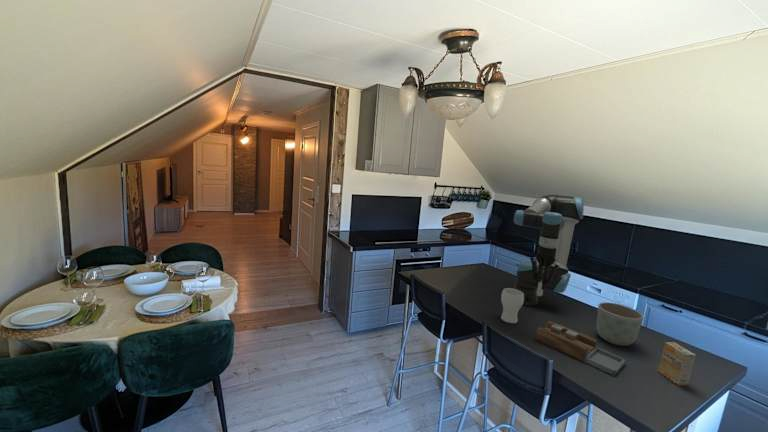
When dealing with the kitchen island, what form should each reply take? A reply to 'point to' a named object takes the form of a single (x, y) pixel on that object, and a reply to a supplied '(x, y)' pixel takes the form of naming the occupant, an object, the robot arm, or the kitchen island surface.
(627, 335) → the planter
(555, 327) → the chip rear
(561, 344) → the slot board
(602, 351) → the tray
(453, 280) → the kitchen island surface
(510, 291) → the cup
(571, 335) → the chip front
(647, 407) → the kitchen island surface
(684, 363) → the supplement box
